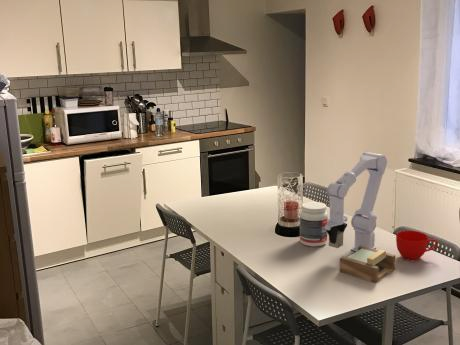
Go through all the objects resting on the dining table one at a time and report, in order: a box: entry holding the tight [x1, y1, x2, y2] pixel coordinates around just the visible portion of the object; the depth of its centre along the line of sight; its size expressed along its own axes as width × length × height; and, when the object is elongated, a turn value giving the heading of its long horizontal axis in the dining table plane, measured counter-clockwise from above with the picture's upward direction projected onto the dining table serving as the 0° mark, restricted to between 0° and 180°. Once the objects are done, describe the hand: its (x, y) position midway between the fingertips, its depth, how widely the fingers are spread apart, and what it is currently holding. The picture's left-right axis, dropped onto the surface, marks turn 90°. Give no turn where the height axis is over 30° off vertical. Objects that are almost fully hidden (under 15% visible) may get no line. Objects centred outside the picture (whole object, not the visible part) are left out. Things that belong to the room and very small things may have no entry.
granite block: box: [328, 231, 344, 249], centre depth 218 cm, size 4×4×6 cm
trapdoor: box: [346, 249, 387, 266], centre depth 209 cm, size 12×11×3 cm
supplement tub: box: [299, 201, 329, 247], centre depth 239 cm, size 13×13×18 cm
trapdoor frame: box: [339, 246, 396, 284], centre depth 210 cm, size 17×16×6 cm
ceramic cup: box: [395, 230, 439, 262], centre depth 220 cm, size 13×17×10 cm
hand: (335, 241), depth 218 cm, fingers closed on granite block, 4 cm apart
